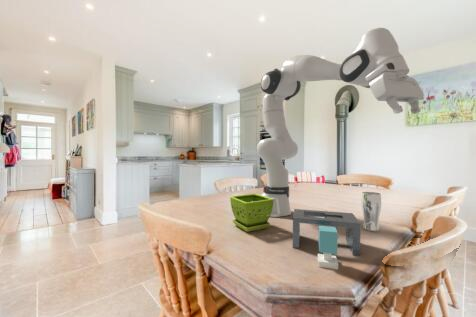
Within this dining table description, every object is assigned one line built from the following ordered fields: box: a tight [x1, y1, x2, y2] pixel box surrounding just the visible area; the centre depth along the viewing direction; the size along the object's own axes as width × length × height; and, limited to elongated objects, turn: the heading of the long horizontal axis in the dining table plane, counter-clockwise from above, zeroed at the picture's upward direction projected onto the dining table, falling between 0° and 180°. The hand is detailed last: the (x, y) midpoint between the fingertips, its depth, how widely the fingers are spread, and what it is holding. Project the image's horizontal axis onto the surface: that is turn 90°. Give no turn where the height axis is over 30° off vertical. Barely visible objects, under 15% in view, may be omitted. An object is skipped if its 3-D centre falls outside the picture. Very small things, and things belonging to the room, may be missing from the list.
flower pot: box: [229, 193, 273, 233], centre depth 93 cm, size 14×14×13 cm
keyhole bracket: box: [292, 208, 361, 257], centre depth 76 cm, size 20×12×10 cm, turn 73°
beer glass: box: [361, 191, 382, 233], centre depth 91 cm, size 7×7×15 cm
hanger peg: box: [317, 225, 339, 270], centre depth 62 cm, size 5×5×10 cm
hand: (408, 112), depth 66 cm, fingers open, 8 cm apart
